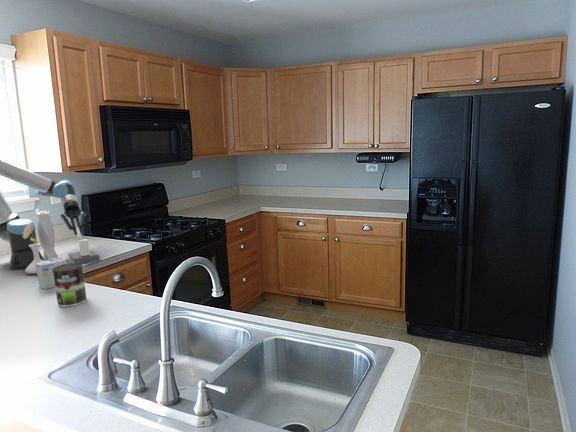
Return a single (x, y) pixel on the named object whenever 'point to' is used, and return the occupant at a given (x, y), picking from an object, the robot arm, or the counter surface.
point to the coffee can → (69, 284)
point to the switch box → (84, 257)
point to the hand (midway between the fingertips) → (79, 238)
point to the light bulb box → (48, 272)
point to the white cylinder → (83, 247)
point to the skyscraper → (46, 235)
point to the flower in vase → (35, 248)
